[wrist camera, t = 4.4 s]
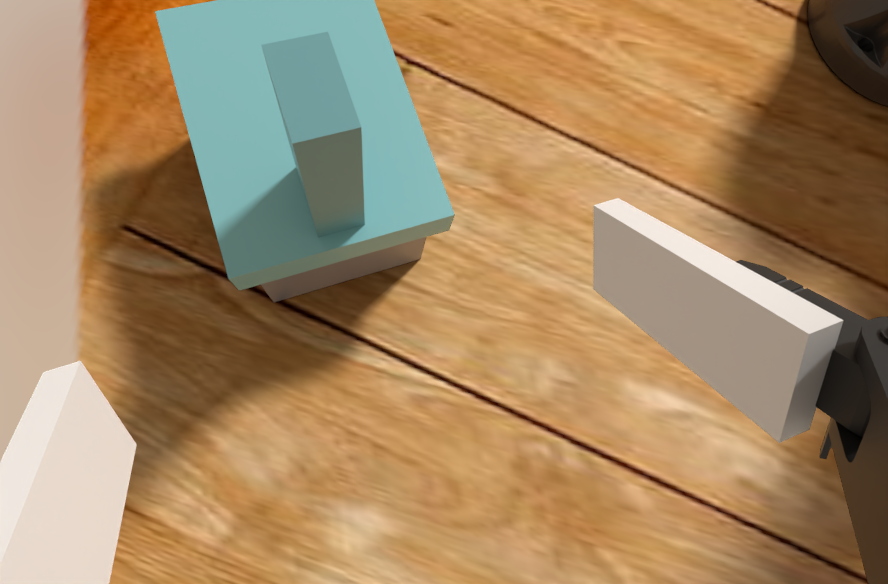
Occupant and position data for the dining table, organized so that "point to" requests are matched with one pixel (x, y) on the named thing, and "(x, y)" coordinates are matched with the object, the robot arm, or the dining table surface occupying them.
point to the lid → (301, 133)
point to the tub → (344, 270)
